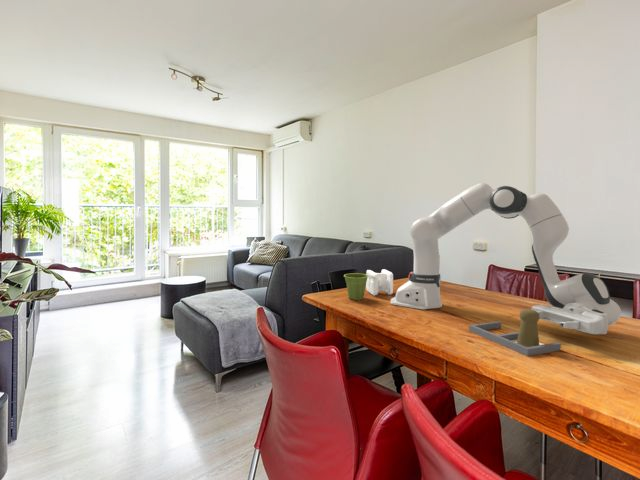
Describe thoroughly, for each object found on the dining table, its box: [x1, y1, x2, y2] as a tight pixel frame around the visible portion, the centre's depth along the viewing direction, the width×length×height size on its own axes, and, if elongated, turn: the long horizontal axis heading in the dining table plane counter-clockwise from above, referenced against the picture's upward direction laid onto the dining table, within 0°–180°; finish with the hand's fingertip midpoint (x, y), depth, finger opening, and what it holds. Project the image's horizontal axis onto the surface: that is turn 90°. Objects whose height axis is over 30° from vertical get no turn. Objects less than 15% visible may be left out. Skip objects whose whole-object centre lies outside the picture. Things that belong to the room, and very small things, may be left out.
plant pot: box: [343, 272, 368, 301], centre depth 164 cm, size 12×12×11 cm
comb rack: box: [468, 320, 562, 357], centre depth 110 cm, size 13×23×2 cm, turn 19°
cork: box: [517, 308, 540, 347], centre depth 104 cm, size 6×6×11 cm
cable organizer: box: [365, 268, 394, 297], centre depth 174 cm, size 15×11×12 cm
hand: (547, 320), depth 107 cm, fingers open, 8 cm apart
